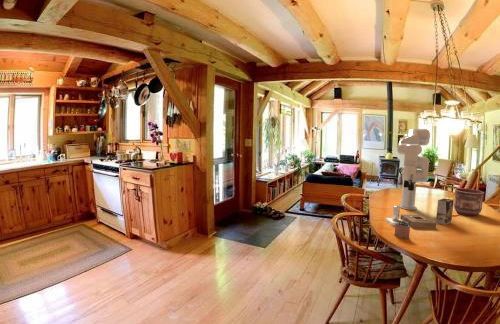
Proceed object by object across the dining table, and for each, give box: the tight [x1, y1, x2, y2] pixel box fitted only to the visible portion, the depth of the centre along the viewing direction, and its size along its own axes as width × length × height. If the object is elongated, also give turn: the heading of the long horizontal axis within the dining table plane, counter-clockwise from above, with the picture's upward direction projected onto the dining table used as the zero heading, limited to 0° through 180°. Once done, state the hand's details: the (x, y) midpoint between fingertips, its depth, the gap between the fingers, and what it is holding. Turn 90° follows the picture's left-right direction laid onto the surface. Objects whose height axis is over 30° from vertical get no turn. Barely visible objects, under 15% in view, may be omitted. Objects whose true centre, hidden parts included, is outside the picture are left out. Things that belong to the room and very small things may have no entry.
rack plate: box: [399, 213, 438, 229], centre depth 184 cm, size 16×15×4 cm
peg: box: [391, 205, 401, 221], centre depth 185 cm, size 4×4×10 cm
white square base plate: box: [385, 217, 402, 227], centre depth 186 cm, size 10×9×2 cm
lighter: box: [394, 220, 411, 240], centre depth 162 cm, size 8×3×10 cm, turn 44°
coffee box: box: [435, 198, 455, 226], centre depth 186 cm, size 9×6×16 cm
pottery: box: [453, 188, 485, 217], centre depth 207 cm, size 18×18×18 cm
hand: (408, 188), depth 180 cm, fingers open, 9 cm apart
